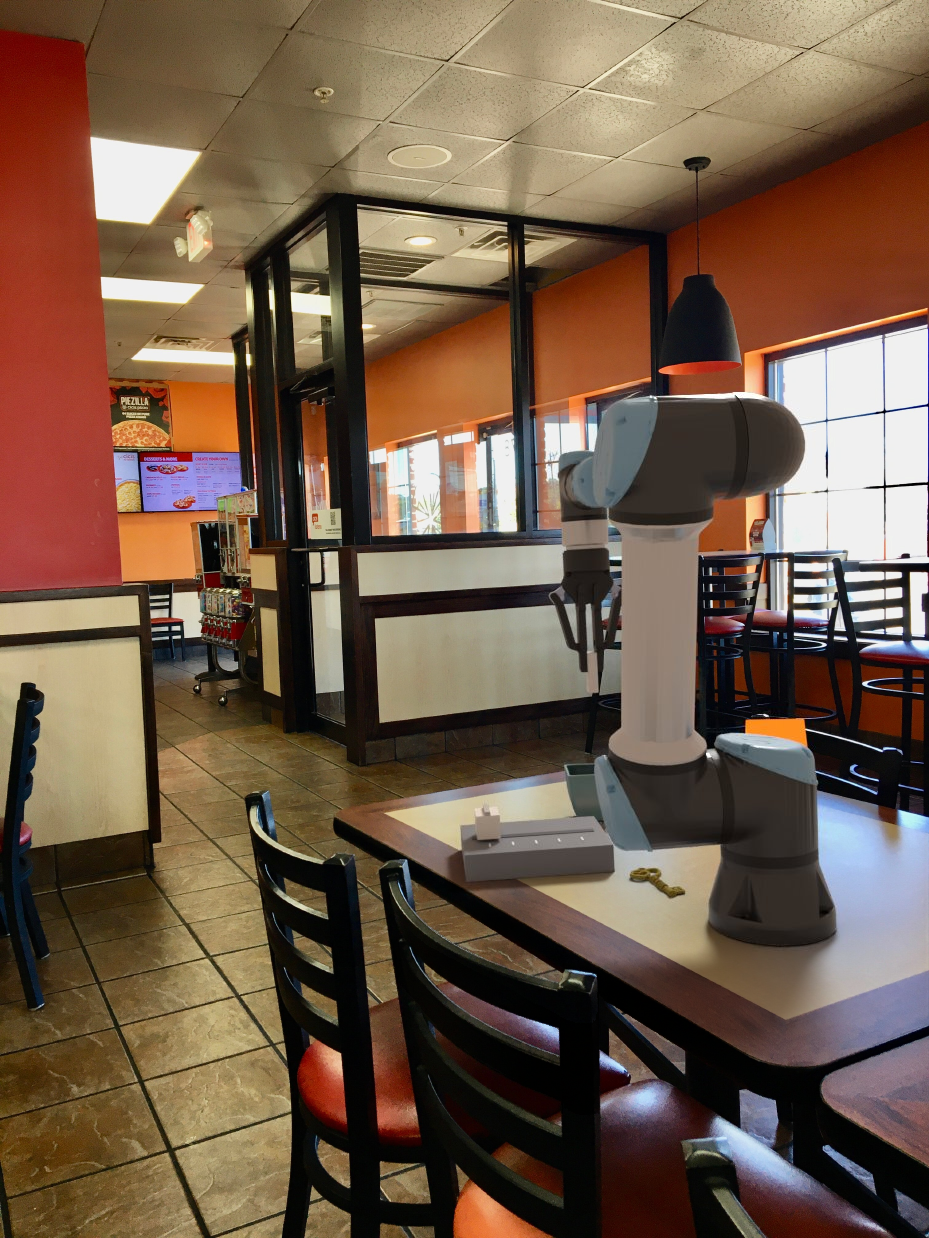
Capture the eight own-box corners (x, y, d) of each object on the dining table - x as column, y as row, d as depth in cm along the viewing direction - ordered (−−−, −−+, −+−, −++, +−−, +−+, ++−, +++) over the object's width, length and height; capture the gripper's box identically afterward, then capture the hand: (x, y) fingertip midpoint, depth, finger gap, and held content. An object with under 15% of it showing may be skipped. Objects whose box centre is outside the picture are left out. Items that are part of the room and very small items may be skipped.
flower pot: (621, 823, 166) (618, 772, 165) (570, 826, 166) (567, 775, 165) (614, 810, 175) (611, 761, 174) (566, 812, 175) (563, 764, 174)
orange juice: (813, 854, 144) (808, 723, 142) (752, 854, 145) (747, 724, 144) (805, 839, 151) (801, 714, 150) (747, 839, 153) (742, 715, 152)
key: (688, 888, 130) (653, 892, 129) (688, 897, 130) (654, 901, 129) (654, 863, 142) (622, 867, 141) (654, 871, 142) (622, 876, 141)
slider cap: (500, 838, 146) (499, 811, 146) (477, 839, 146) (475, 812, 145) (498, 829, 151) (496, 802, 151) (475, 830, 151) (474, 804, 150)
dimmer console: (614, 871, 141) (613, 844, 141) (466, 881, 140) (464, 854, 140) (595, 839, 157) (593, 815, 157) (461, 849, 156) (460, 824, 156)
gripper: (620, 545, 159) (627, 686, 161) (542, 550, 159) (550, 691, 160) (630, 545, 152) (637, 692, 153) (548, 549, 151) (556, 697, 153)
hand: (592, 691), depth 157 cm, fingers closed
